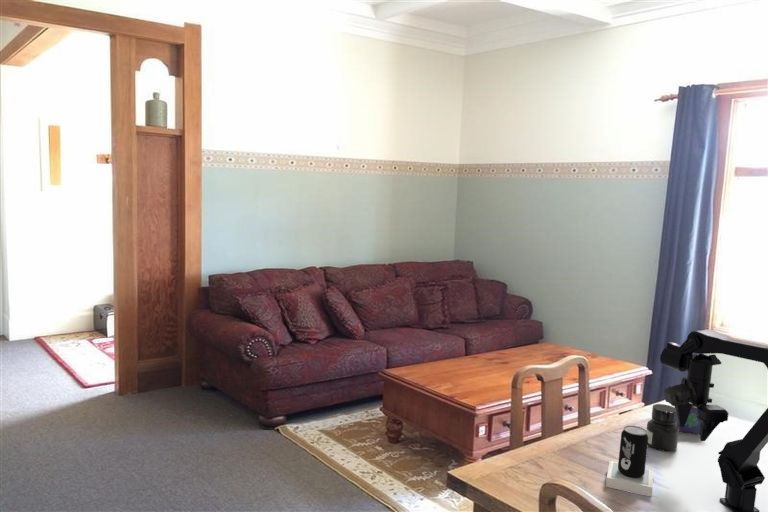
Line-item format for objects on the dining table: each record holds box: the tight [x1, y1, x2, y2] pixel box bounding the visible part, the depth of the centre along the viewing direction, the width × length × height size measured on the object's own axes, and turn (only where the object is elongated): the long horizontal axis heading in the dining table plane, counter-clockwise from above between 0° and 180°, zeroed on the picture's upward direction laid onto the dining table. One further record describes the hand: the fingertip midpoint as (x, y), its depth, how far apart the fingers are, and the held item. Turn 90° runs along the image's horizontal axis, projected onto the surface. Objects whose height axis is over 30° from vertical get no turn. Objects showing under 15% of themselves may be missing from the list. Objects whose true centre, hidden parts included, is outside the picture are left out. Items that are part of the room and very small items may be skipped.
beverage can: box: [618, 424, 649, 478], centre depth 167 cm, size 7×7×12 cm
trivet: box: [605, 460, 654, 498], centre depth 168 cm, size 11×11×3 cm
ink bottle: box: [645, 403, 679, 453], centre depth 192 cm, size 10×9×12 cm
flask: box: [673, 405, 701, 436], centre depth 204 cm, size 9×3×11 cm, turn 76°
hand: (692, 433), depth 169 cm, fingers open, 9 cm apart
